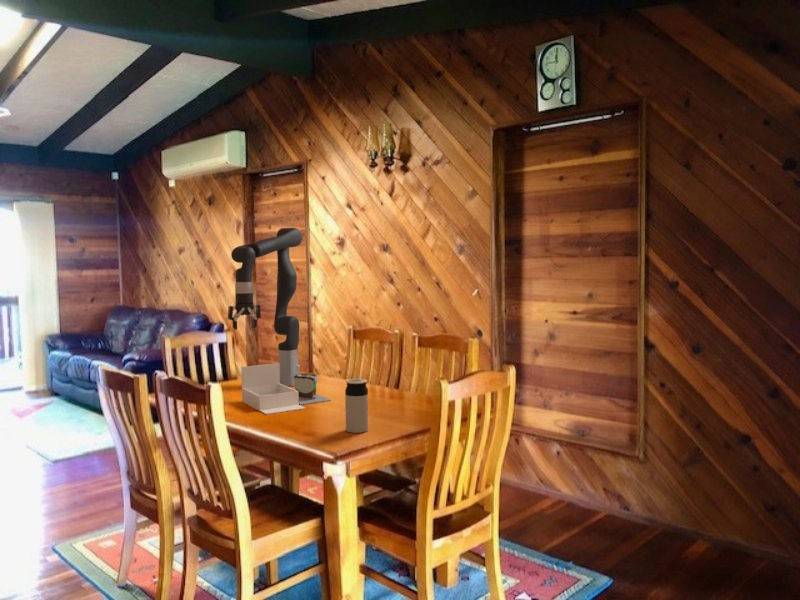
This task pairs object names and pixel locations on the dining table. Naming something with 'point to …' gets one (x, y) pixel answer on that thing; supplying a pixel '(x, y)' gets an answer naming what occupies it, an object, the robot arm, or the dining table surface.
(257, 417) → the dining table surface
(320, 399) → the slate mat
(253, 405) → the carton
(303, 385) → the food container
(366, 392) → the travel mug
